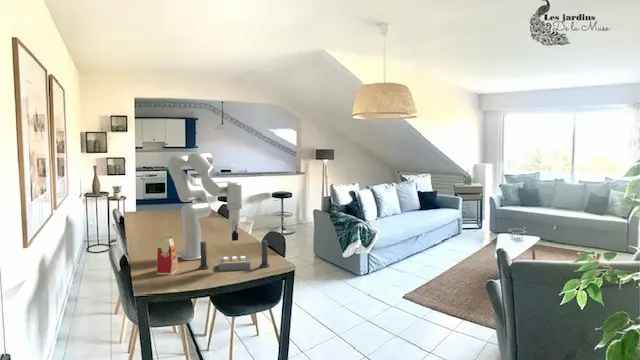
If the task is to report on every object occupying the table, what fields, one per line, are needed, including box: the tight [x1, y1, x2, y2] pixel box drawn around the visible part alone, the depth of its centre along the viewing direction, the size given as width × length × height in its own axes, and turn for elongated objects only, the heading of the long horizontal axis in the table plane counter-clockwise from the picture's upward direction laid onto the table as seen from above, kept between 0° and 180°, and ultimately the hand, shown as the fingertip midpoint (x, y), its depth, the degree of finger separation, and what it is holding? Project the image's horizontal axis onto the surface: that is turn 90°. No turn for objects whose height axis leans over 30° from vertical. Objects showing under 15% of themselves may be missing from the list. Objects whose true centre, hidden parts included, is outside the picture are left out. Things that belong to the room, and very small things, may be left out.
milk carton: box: [156, 233, 179, 276], centre depth 203 cm, size 9×9×20 cm
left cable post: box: [198, 241, 209, 271], centre depth 210 cm, size 5×5×14 cm
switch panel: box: [218, 255, 251, 272], centre depth 213 cm, size 16×10×6 cm, turn 103°
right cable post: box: [259, 239, 270, 269], centre depth 215 cm, size 5×5×14 cm
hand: (235, 240), depth 212 cm, fingers closed
